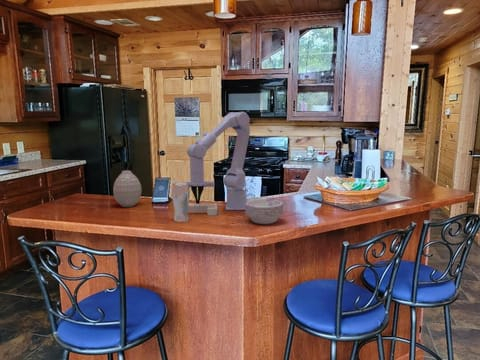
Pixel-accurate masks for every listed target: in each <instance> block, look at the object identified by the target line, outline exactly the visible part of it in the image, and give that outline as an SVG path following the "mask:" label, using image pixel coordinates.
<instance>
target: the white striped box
mask: <svg viewBox="0 0 480 360" xmlns="http://www.w3.org/2000/svg"><path fill="white" fill-rule="evenodd" d="M208 206H217V207H218V203H217V202H199V204H196V202H189V205H188V214H190V213H191V214H192V213H193V214H195V213H198V214H199V213H201V214H203V213H204V214H206V213H207V208H208Z"/></svg>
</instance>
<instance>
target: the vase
mask: <svg viewBox="0 0 480 360" xmlns="http://www.w3.org/2000/svg"><path fill="white" fill-rule="evenodd" d="M112 189H113V191H112V192H113V197H114V198H115V201H116V202H117V204H119V205H120V207H124V208H131V207H134V206H136V205H137V204H138V202H139V201H140V200H141V195H142V184H141V182H140V180H139V178H138V177H137V175H135V174H134V173H132V171H131V170H122V171H121V173H120V174H119V175H118V177H116V179H115V181H114V183H113V188H112Z"/></svg>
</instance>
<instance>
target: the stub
mask: <svg viewBox="0 0 480 360" xmlns="http://www.w3.org/2000/svg"><path fill="white" fill-rule="evenodd" d="M207 216H218V205H217V206H208V208H207Z"/></svg>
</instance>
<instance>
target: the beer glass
mask: <svg viewBox="0 0 480 360" xmlns="http://www.w3.org/2000/svg"><path fill="white" fill-rule="evenodd" d="M190 193H191V192H190V187H189V183H184V182H174V183H172V190H171V194H172V195H171V198H172V203H173V209H174V216H173V221H174V222H177V223H183V222H188V221H189V220H190V218H189V213H188V205H189V203H190V195H191V194H190Z"/></svg>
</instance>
